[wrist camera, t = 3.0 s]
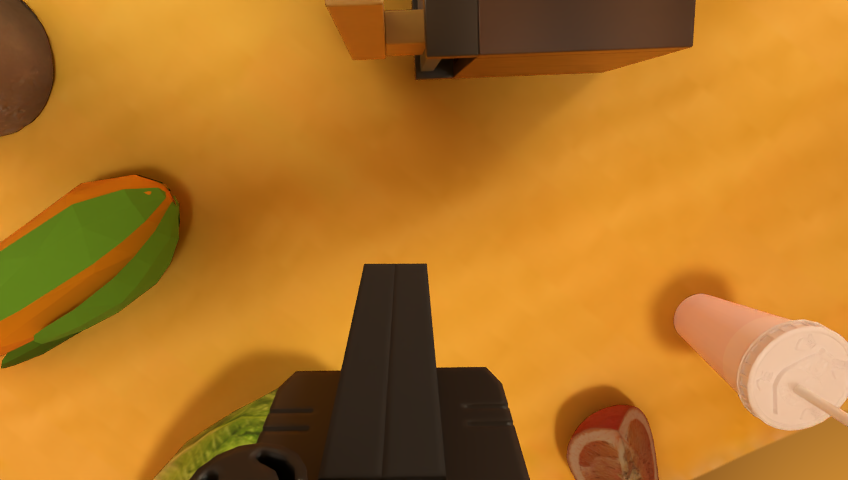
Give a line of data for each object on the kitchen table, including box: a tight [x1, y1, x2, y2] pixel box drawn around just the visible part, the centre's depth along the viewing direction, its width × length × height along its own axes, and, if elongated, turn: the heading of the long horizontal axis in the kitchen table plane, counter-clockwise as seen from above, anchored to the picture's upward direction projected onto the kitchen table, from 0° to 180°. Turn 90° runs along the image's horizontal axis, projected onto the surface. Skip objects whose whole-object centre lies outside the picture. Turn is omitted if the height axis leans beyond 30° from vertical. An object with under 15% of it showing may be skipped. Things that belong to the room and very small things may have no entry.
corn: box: [0, 175, 180, 368], centre depth 30 cm, size 7×8×20 cm
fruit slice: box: [567, 405, 659, 480], centre depth 36 cm, size 8×7×5 cm
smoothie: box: [674, 294, 848, 430], centre depth 30 cm, size 6×6×14 cm
